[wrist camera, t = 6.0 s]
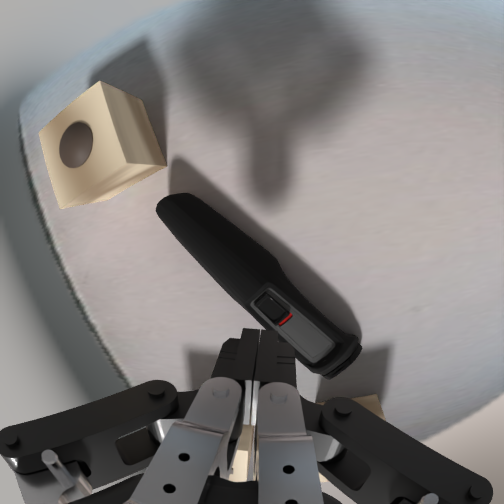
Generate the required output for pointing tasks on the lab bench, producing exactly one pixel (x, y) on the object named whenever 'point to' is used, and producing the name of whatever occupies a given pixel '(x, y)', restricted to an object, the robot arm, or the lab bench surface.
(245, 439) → the maple block
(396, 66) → the lab bench surface
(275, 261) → the electric trimmer
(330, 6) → the lab bench surface
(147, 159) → the maple block
